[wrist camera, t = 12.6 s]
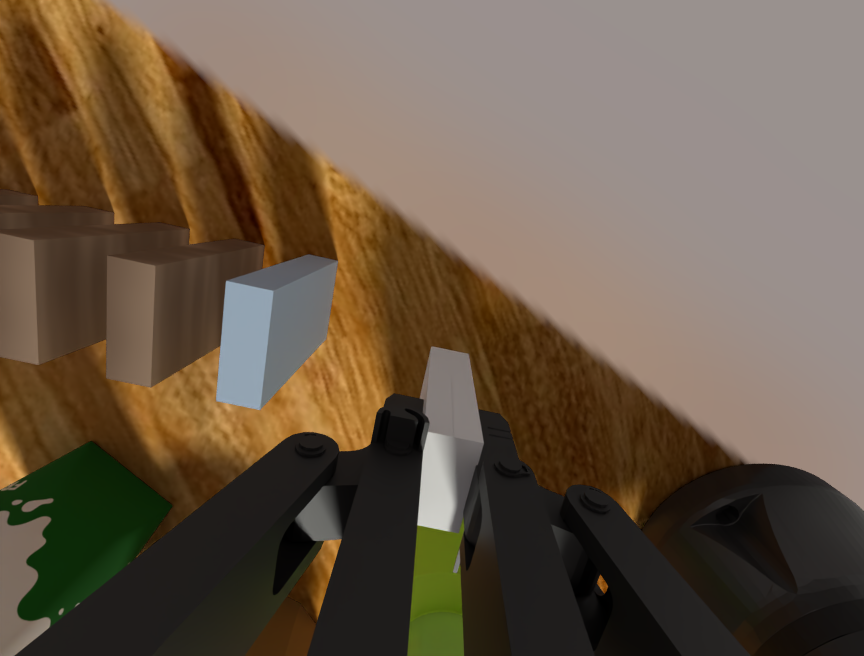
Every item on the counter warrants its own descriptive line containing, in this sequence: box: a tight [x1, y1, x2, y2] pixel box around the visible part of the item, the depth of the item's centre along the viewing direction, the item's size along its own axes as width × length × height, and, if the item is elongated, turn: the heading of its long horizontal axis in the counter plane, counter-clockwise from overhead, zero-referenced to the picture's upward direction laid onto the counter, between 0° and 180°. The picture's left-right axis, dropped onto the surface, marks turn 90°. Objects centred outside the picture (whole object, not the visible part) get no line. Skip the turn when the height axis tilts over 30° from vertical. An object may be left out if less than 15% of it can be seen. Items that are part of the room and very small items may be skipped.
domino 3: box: [106, 239, 265, 387], centre depth 21 cm, size 2×5×10 cm, turn 168°
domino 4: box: [216, 254, 338, 410], centre depth 22 cm, size 2×5×10 cm, turn 168°
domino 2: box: [0, 222, 190, 365], centre depth 21 cm, size 2×5×10 cm, turn 168°
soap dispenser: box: [407, 518, 464, 656], centre depth 19 cm, size 6×7×20 cm
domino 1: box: [0, 205, 114, 229], centre depth 21 cm, size 2×5×10 cm, turn 168°
